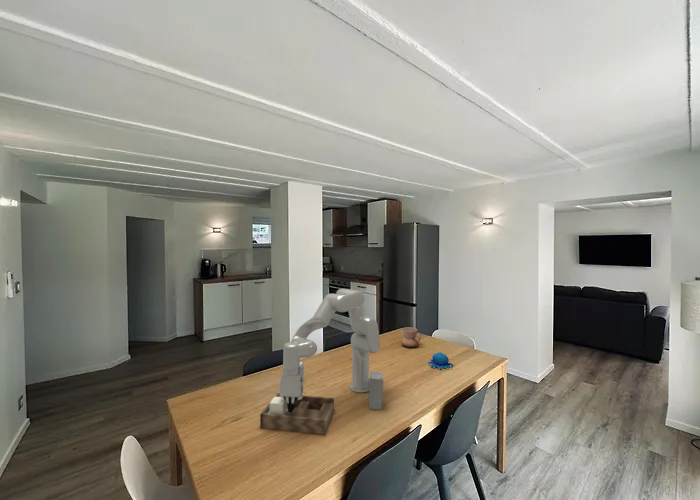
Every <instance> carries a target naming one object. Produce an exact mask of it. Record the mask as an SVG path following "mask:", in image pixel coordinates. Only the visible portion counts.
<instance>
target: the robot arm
mask: <svg viewBox="0 0 700 500" xmlns="http://www.w3.org/2000/svg"><path fill="white" fill-rule="evenodd" d="M365 297H366V296H365V295H364V292H362V291H360V290H357V289H350V288H339V289H338V290H336V293H328V294H326V295H325V296H324V298H323V299H322V301H321V303H320V304H319V307H318V308H317V309H316V311H315V312H314V314H313V316H312V317H311V318H310V319H307V321H305V322H304V323H303V324H301V325H300V326H299V327H298V328H297V330H296V331H295V333H294V335H293V337H292V339H291V341H289V342H285V343H284V345H283V349H282V351H283V353H282V354H283V355H282V357H283V358H282V359H283V360H282V372H281V376H280V380H279V389H278V390H279V391H278V392H279V393H280V397H281V398H284V399H285V400H286V403H287V409H288V412H291V413H292V411H293V410H294V409H295V401H296V400H299V399H302V398H303V395H304V394H303V393H304V377H303V378H302V373H301V372H302V371H303V369H301V368H300V362H301V359H303V358H311V357H313V356H314V355H315V354H316V353H317V351H318V346H317V344H316V342H315V341H313V340H311V339H308V337H309V335H310V334H312V333H313V332H315V331H316V330H320V329H324V328H326V327H327V326H329V324H330V322H331V320H332V319H333V317H334V315H335V313H336V312H339V313H346V312H348V316H349V322H350V327H351V329H352V331H354V333H352V334H351V337H350V346H351V352H352V353H351V354H352V363H351V364H352V367H351V368H352V369H351V370H352V375H351V376H352V377H351V380H352V381H351V383H349V389H350V391H352V392H354V393H360V394H361V393H369V388H370V355H369V353H370V354H376V353H378V351H380V350H379V349H380V346H381V340H380V332H379V326H378V323H377V321H376V319H375V318H374V317H371V316H368V315H366V314H365V311H364V307H363V304H364V303H365ZM291 397H292V400H291Z"/></svg>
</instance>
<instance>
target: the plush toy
mask: <svg viewBox="0 0 700 500" xmlns="http://www.w3.org/2000/svg"><path fill="white" fill-rule="evenodd" d="M430 360H431V362H429V361H428V362H427V363H429V364H432V365H431V367H439V368H440V369H444V370H445V367H446V368H448V369H449V368H451V369H452V367H450V365H451V366H453V367H454V364H453V363H452V362H449V357H448V356H447V355H446V354H444V353H442V352H436V353H434V354H432V359H430ZM448 362H449V363H448ZM431 367H430V368H431ZM440 369H439V370H440ZM448 369H447V370H448Z"/></svg>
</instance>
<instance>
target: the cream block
mask: <svg viewBox="0 0 700 500" xmlns="http://www.w3.org/2000/svg"><path fill="white" fill-rule="evenodd" d="M269 403H270V414H279V415H285V413H286V411H287V403H286V400H285V399H284V398H281V397H275V396H274V397H273V398H272V400H271V401H270V402H269Z"/></svg>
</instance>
